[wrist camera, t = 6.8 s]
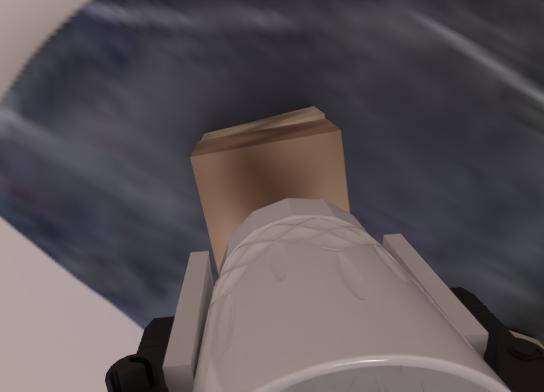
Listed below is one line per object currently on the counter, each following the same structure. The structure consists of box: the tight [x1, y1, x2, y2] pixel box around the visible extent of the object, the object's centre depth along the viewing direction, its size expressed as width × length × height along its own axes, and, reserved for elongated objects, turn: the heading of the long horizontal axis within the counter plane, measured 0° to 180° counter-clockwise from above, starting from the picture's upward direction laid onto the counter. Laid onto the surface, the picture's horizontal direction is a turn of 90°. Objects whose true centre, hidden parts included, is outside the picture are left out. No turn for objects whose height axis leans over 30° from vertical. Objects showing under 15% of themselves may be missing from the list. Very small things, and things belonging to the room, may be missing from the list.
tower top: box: [190, 118, 350, 273], centre depth 27 cm, size 9×9×4 cm
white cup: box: [192, 198, 512, 392], centre depth 13 cm, size 8×8×10 cm
